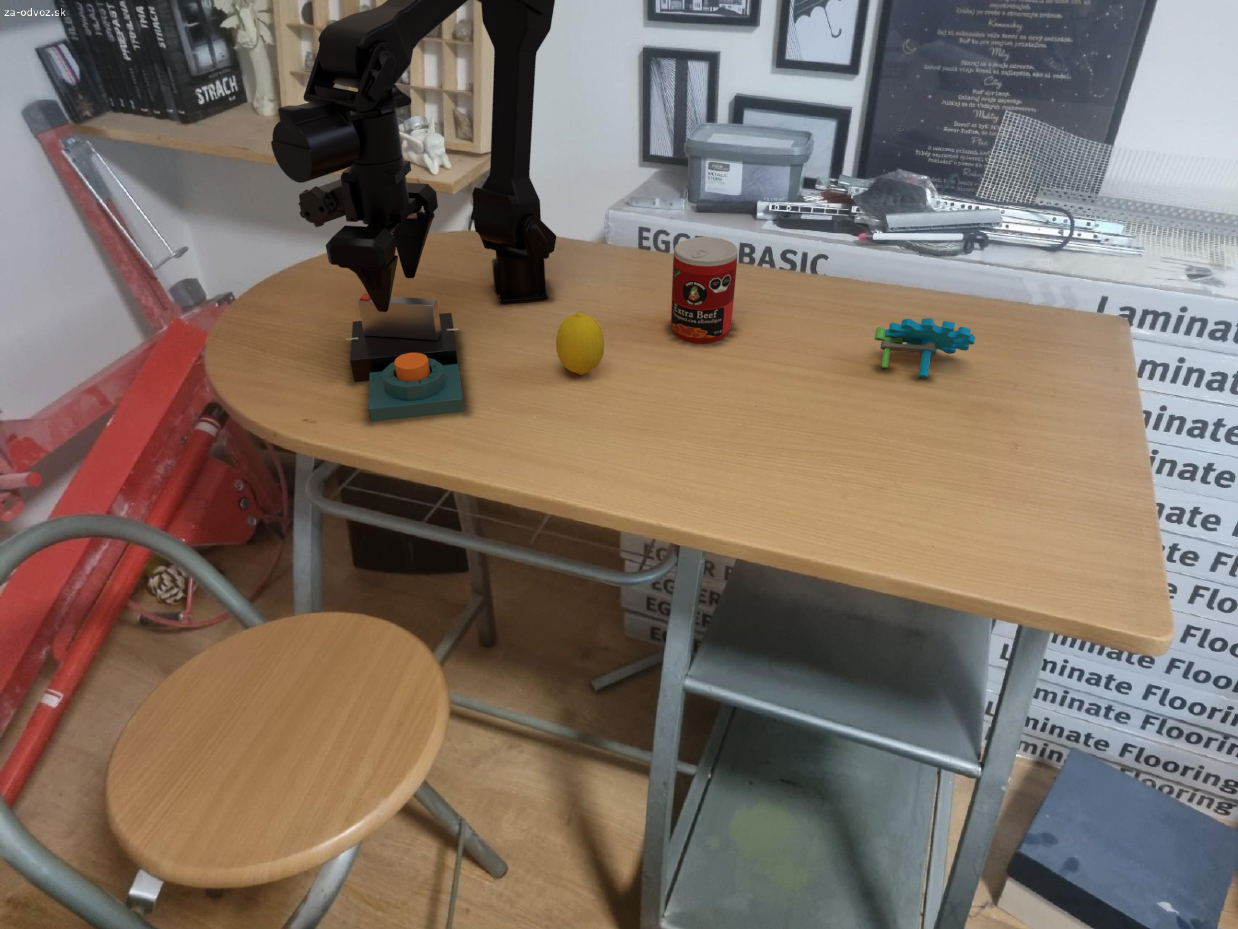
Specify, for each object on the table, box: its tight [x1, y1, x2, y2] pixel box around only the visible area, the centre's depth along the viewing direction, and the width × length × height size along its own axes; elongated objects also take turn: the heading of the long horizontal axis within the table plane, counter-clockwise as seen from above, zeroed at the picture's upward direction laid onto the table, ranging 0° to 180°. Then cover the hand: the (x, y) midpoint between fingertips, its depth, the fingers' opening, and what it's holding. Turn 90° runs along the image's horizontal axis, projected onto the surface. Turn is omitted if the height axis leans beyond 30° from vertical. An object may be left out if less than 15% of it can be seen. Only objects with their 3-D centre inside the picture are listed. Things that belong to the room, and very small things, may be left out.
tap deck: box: [345, 312, 460, 383], centre depth 105 cm, size 13×13×3 cm
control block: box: [367, 358, 465, 423], centre depth 97 cm, size 10×8×4 cm
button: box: [394, 353, 430, 381], centre depth 96 cm, size 4×4×2 cm
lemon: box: [555, 311, 605, 376], centre depth 100 cm, size 6×6×8 cm
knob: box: [357, 292, 441, 340], centre depth 103 cm, size 9×2×5 cm, turn 82°
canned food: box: [670, 236, 739, 344], centre depth 109 cm, size 8×8×11 cm
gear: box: [874, 317, 976, 379], centre depth 102 cm, size 11×6×10 cm
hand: (397, 293), depth 101 cm, fingers open, 9 cm apart
